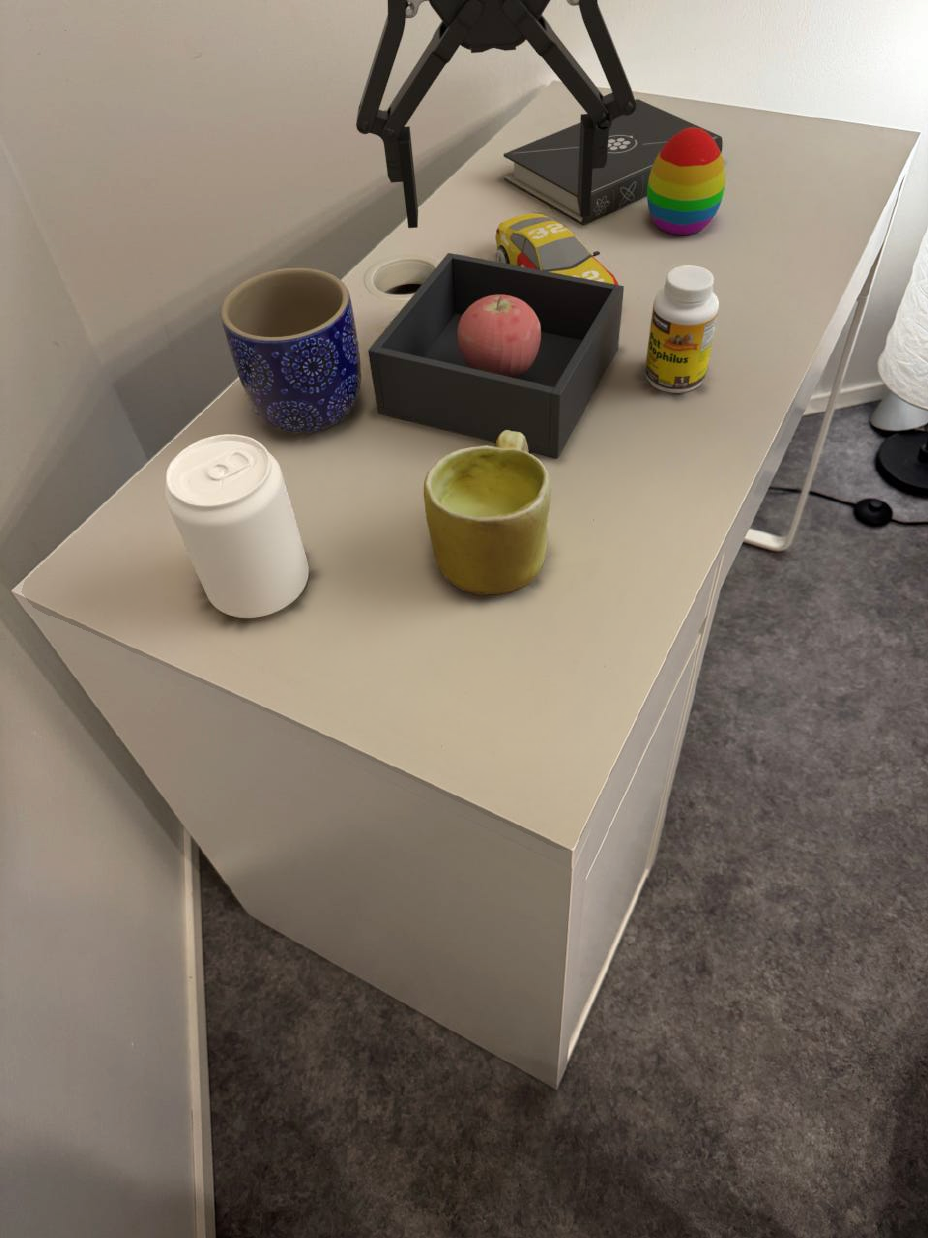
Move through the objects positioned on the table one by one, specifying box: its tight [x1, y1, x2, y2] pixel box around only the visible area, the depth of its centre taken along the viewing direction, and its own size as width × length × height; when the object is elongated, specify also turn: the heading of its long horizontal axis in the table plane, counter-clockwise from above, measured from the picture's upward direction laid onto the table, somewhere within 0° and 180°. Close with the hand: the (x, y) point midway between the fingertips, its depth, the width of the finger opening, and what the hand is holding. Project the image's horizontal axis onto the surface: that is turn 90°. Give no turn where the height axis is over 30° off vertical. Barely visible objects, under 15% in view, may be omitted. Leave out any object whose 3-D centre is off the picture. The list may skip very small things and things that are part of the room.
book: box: [503, 98, 724, 225], centre depth 107 cm, size 22×15×3 cm
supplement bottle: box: [644, 264, 720, 394], centre depth 80 cm, size 6×6×10 cm
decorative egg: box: [646, 127, 726, 236], centre depth 96 cm, size 8×8×10 cm
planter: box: [220, 267, 363, 434], centre depth 79 cm, size 11×11×11 cm
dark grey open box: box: [367, 252, 625, 459], centre depth 82 cm, size 18×17×7 cm
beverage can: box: [164, 433, 310, 619], centre depth 66 cm, size 8×8×12 cm
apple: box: [457, 295, 541, 378], centre depth 81 cm, size 7×7×8 cm
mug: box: [423, 430, 552, 596], centre depth 69 cm, size 12×10×10 cm
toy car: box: [495, 212, 619, 285], centre depth 92 cm, size 8×17×5 cm, turn 26°
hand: (498, 214), depth 72 cm, fingers open, 13 cm apart
